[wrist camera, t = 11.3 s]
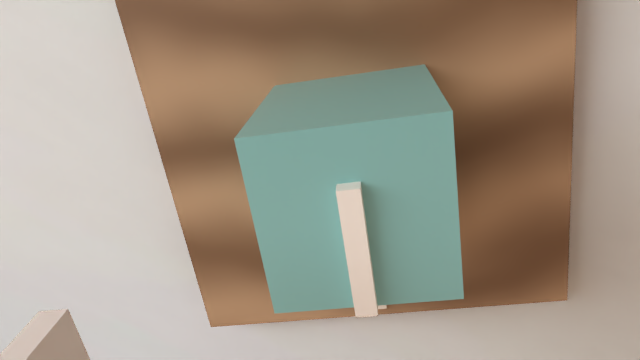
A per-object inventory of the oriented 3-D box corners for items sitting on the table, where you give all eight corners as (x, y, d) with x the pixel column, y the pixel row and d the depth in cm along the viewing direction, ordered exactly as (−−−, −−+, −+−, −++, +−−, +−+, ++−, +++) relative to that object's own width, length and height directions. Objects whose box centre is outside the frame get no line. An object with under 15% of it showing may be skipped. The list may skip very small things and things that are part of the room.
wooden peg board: (119, -38, 24) (26, -39, 17) (567, -120, 21) (656, -158, 14) (217, 310, 31) (179, 400, 25) (557, 284, 28) (613, 376, 22)
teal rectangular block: (274, 85, 24) (229, 144, 16) (424, 64, 23) (455, 115, 15) (299, 217, 26) (271, 323, 19) (435, 202, 25) (466, 309, 18)
